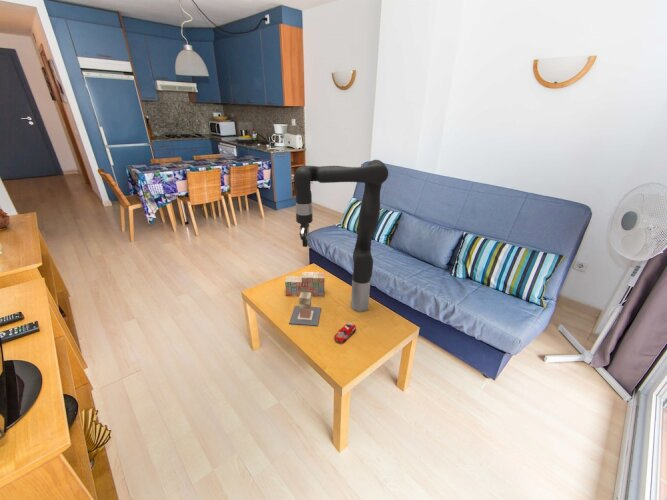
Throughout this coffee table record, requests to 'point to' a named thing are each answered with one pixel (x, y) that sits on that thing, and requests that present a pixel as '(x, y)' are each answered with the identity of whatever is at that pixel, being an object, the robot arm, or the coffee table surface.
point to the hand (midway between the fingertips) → (305, 246)
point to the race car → (345, 332)
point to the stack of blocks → (305, 284)
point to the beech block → (305, 300)
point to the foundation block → (305, 312)
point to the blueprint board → (305, 321)
